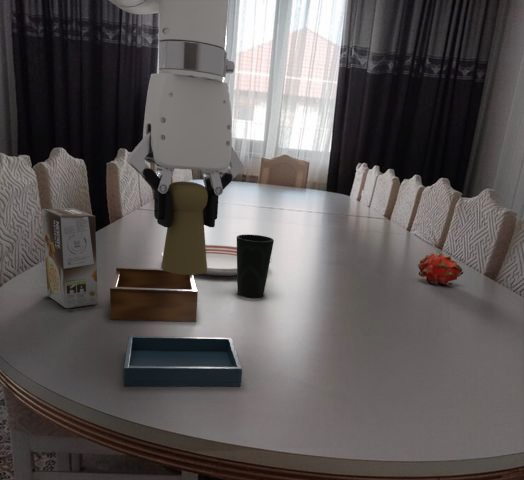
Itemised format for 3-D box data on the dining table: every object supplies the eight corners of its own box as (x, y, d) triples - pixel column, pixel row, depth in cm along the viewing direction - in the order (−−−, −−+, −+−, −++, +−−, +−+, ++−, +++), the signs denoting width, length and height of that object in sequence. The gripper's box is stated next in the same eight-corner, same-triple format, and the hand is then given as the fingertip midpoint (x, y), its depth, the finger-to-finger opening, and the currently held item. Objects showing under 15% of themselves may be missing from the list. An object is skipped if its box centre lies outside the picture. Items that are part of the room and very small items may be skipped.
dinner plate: (152, 276, 117) (152, 261, 116) (168, 251, 142) (169, 239, 141) (273, 285, 119) (274, 271, 117) (268, 259, 144) (269, 247, 143)
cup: (229, 296, 108) (233, 238, 103) (236, 287, 115) (240, 233, 110) (265, 301, 107) (271, 243, 102) (270, 292, 114) (275, 237, 109)
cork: (155, 263, 69) (156, 178, 65) (197, 262, 72) (201, 180, 68) (169, 275, 65) (172, 183, 60) (214, 274, 67) (219, 186, 63)
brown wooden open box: (110, 319, 89) (109, 288, 86) (116, 294, 102) (116, 266, 100) (196, 322, 91) (197, 291, 89) (191, 297, 105) (192, 270, 103)
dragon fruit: (409, 284, 139) (453, 296, 138) (420, 272, 130) (466, 285, 130) (415, 256, 141) (458, 268, 140) (426, 242, 132) (472, 255, 132)
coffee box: (99, 304, 95) (97, 215, 89) (65, 309, 91) (60, 216, 85) (78, 291, 101) (75, 207, 95) (45, 295, 97) (39, 207, 91)
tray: (123, 386, 66) (123, 367, 66) (128, 352, 77) (128, 335, 76) (240, 386, 70) (242, 368, 69) (230, 353, 80) (231, 337, 79)
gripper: (241, 77, 67) (231, 220, 73) (107, 55, 58) (110, 220, 65) (271, 74, 61) (258, 230, 68) (128, 50, 52) (129, 231, 59)
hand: (186, 223), depth 66 cm, fingers closed on cork, 5 cm apart
